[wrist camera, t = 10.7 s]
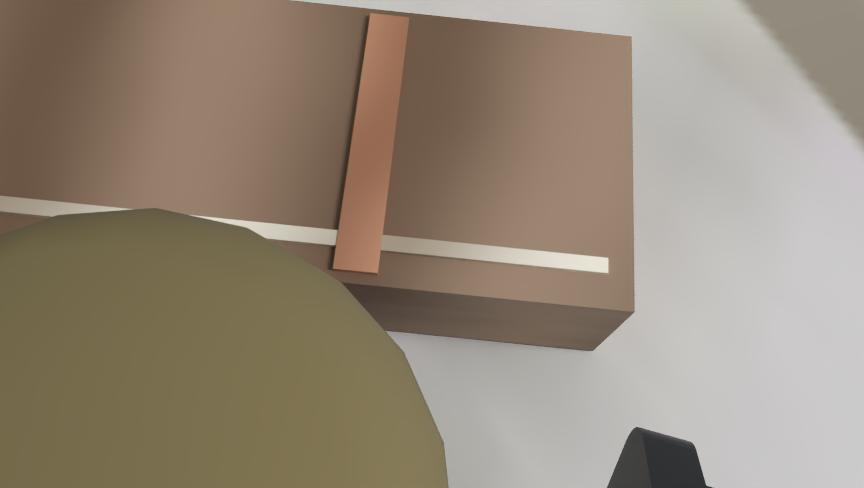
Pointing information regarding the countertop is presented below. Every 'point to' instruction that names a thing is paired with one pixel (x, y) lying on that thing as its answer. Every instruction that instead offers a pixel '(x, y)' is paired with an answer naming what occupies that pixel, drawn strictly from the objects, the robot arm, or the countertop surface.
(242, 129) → the walnut plank
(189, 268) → the cork
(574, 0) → the countertop surface
